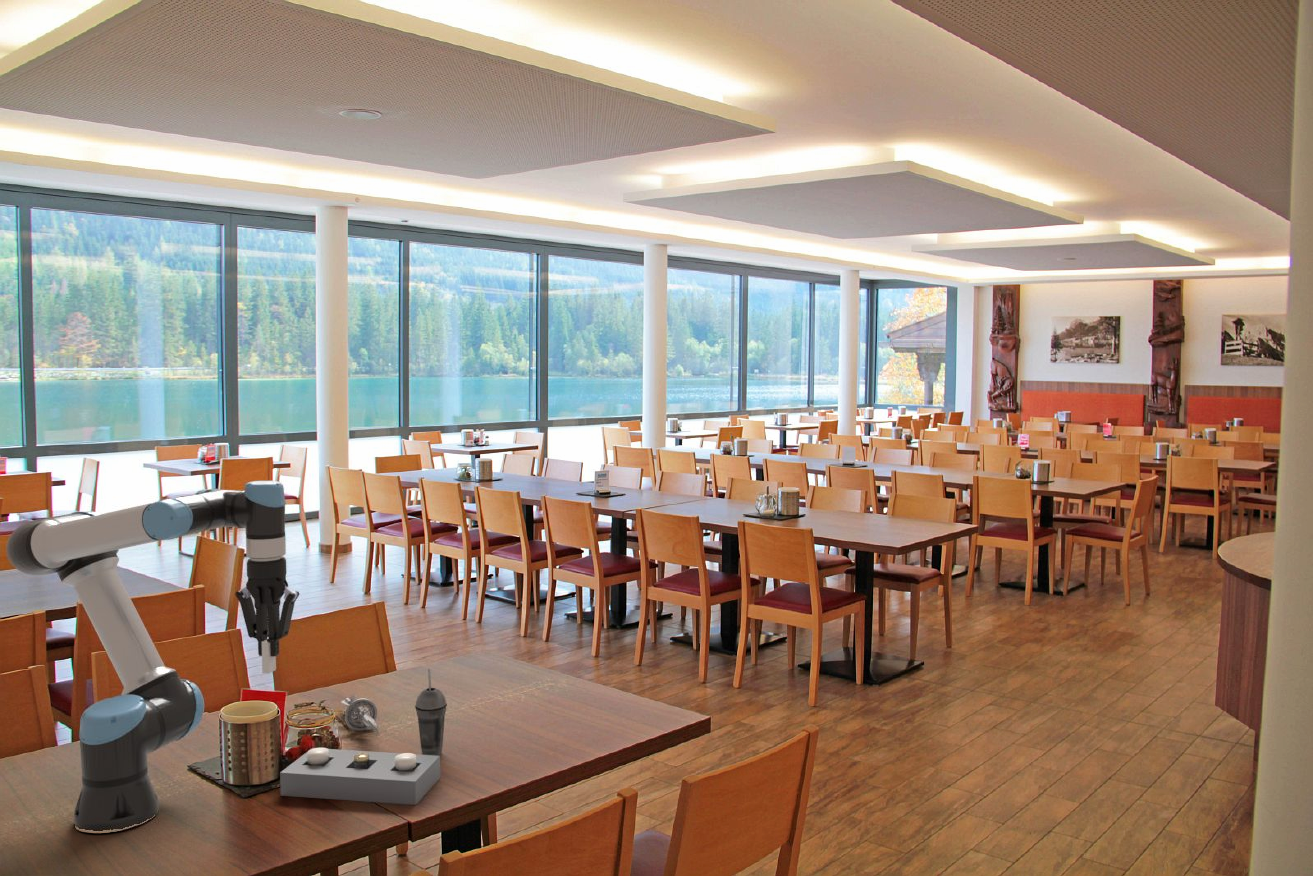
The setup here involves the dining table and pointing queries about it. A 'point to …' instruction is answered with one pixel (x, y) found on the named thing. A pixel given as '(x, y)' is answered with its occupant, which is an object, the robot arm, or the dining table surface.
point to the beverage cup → (431, 719)
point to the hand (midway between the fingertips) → (269, 671)
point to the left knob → (318, 756)
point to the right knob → (405, 762)
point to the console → (361, 778)
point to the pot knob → (361, 761)
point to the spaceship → (360, 714)
